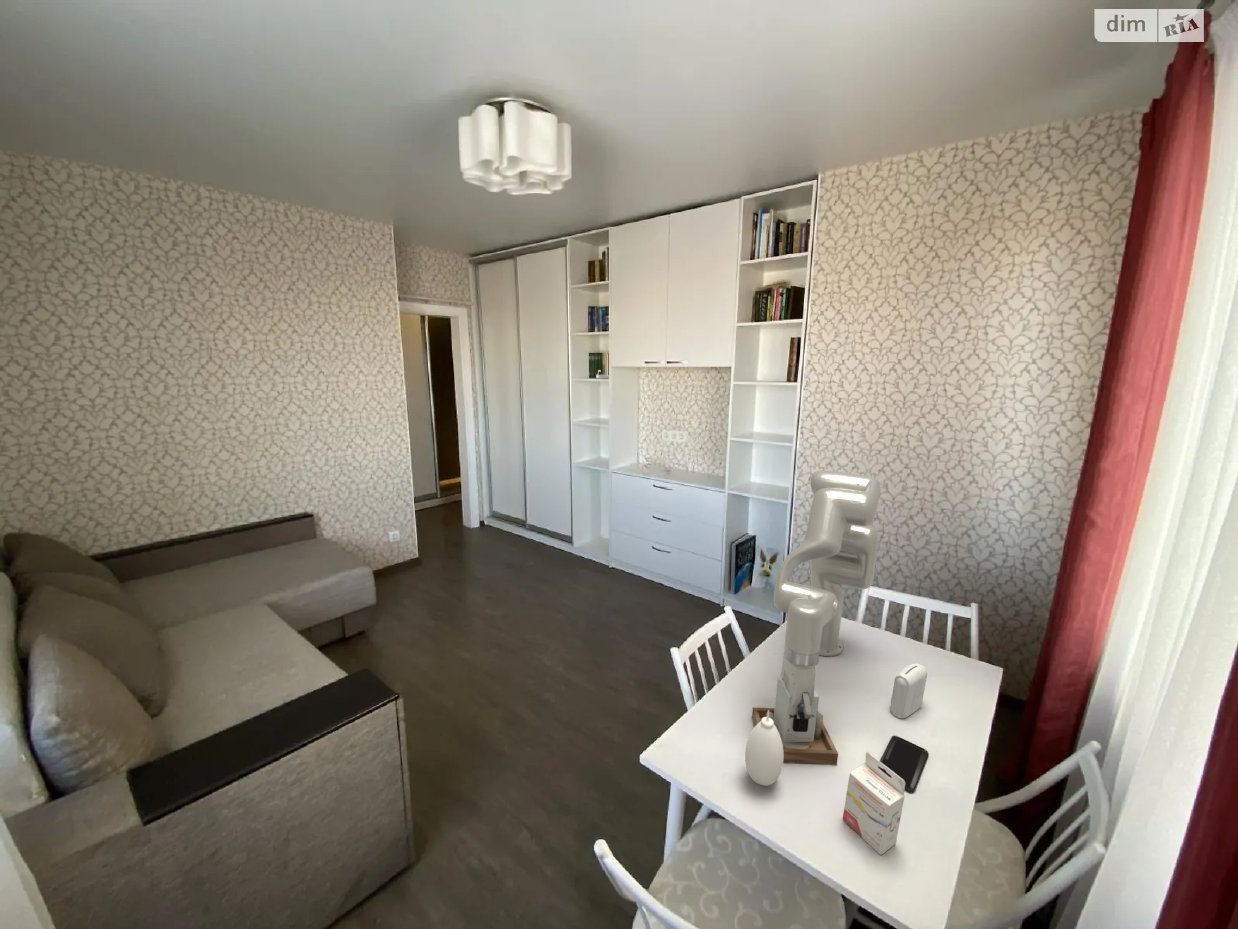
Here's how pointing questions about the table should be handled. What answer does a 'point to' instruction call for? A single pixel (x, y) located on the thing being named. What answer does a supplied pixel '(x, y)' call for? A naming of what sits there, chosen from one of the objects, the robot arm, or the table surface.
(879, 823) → the ink cartridge box
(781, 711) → the supplement box
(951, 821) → the table surface
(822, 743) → the caddy
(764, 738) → the air blower bulb
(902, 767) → the phone
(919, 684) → the white rounded block
